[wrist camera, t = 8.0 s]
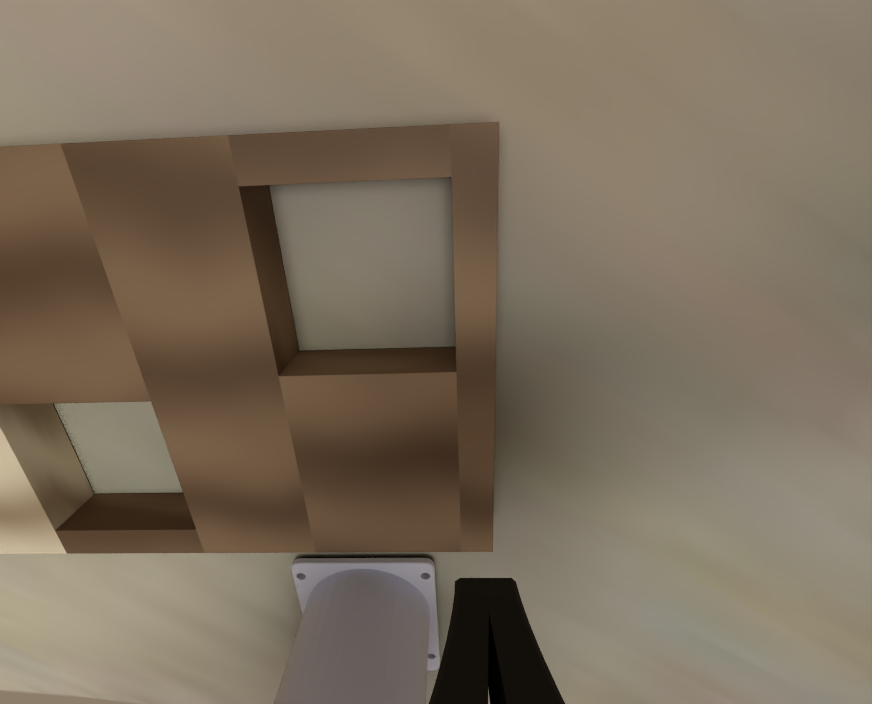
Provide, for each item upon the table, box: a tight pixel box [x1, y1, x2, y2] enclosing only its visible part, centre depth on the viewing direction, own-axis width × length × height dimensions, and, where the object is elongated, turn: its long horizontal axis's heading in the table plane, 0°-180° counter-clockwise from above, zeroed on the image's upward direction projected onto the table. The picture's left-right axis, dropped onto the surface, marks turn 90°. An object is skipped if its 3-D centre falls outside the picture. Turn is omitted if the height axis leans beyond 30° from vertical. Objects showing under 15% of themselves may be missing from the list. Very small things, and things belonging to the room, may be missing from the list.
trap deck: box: [0, 122, 499, 554], centre depth 18 cm, size 18×27×4 cm, turn 92°
